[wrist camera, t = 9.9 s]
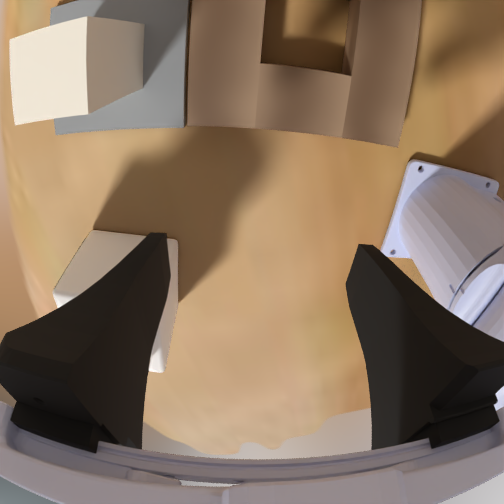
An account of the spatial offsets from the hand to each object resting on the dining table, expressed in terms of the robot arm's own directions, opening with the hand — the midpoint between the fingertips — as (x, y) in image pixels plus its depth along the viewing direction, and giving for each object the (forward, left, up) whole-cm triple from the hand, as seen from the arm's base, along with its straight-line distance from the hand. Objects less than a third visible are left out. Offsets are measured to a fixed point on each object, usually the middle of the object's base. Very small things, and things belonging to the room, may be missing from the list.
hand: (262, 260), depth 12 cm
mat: (+9, -7, -9) cm, 15 cm away
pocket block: (-2, -9, -9) cm, 13 cm away
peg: (+9, -7, -9) cm, 14 cm away
